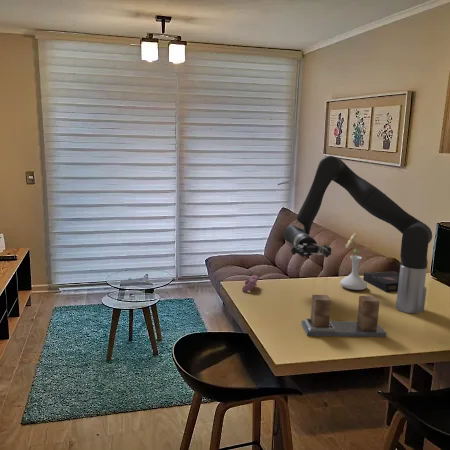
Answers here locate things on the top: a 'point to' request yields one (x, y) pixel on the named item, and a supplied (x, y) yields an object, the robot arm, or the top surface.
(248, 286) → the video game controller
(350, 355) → the top surface
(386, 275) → the portable cd player
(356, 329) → the rail
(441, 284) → the top surface
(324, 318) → the walnut finger
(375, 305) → the block
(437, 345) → the top surface
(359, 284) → the flower in vase
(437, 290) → the top surface
